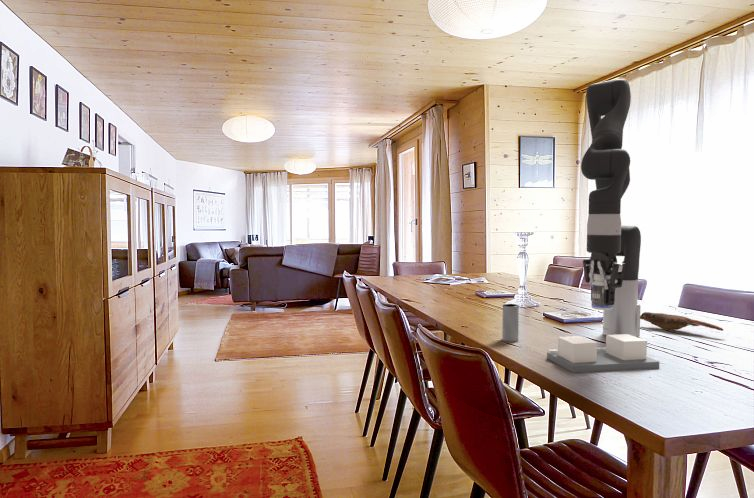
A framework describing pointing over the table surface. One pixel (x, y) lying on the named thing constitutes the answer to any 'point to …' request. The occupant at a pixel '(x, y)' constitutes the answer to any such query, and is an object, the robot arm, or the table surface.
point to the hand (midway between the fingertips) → (602, 302)
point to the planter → (510, 322)
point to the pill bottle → (599, 294)
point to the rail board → (602, 354)
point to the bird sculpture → (673, 321)
